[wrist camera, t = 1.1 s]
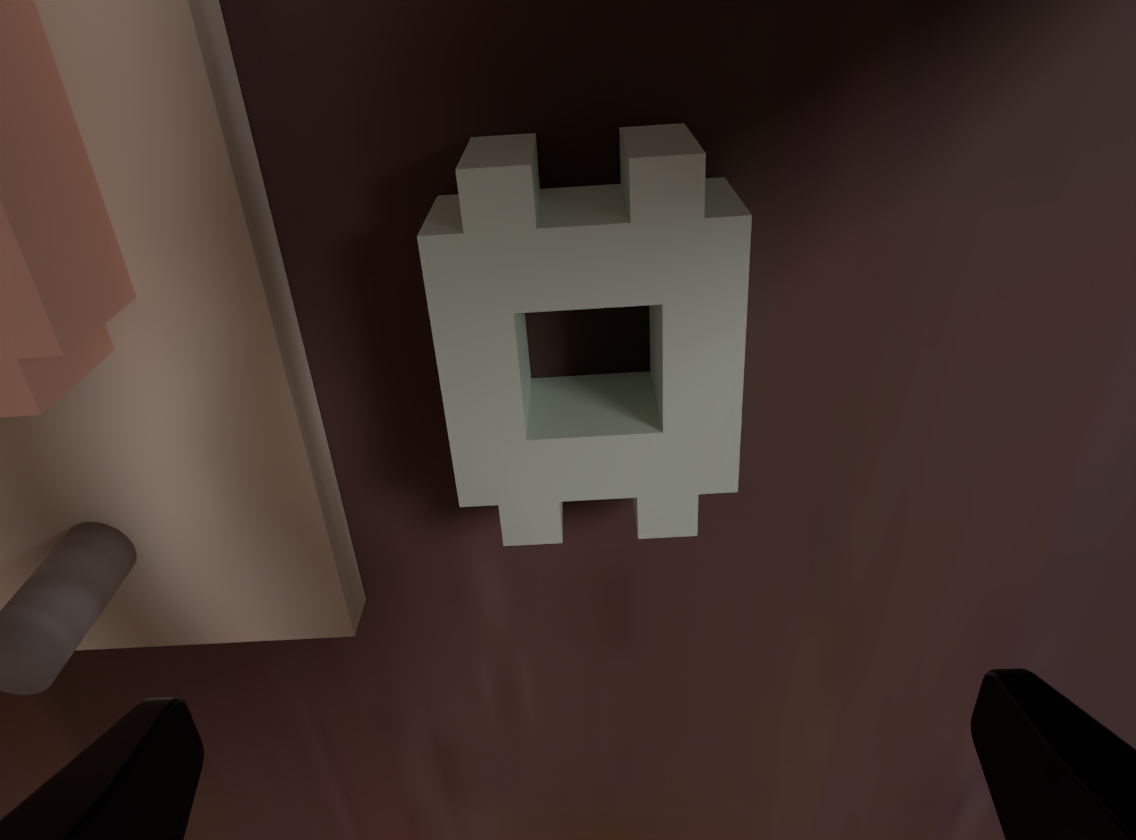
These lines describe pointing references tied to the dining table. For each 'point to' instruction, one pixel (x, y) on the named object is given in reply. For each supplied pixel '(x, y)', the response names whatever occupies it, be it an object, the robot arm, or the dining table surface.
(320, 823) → the dining table surface
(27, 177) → the terracotta gear
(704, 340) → the green gear
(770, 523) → the dining table surface
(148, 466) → the peg board
